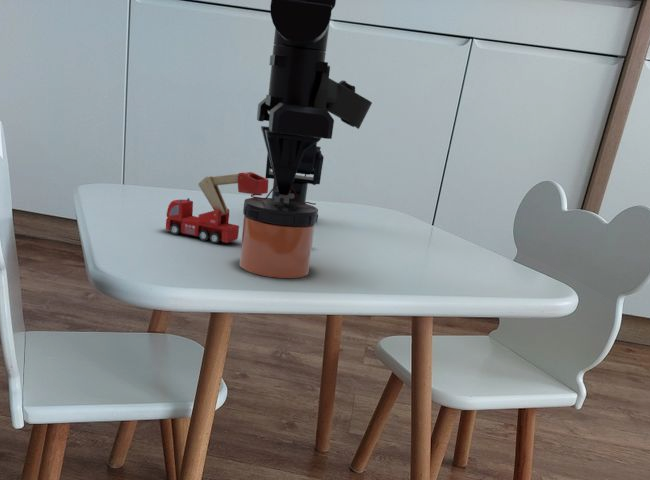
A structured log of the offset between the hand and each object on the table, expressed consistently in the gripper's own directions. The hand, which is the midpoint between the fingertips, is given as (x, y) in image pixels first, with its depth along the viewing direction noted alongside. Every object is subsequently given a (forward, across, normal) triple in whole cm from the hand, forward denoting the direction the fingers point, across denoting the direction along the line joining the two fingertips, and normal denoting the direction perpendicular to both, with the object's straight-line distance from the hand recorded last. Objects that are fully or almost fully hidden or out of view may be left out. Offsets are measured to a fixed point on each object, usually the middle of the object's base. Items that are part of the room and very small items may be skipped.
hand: (282, 193), depth 80 cm
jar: (+9, 0, 0) cm, 9 cm away
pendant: (+1, +1, 0) cm, 2 cm away
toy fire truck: (+9, +12, +7) cm, 17 cm away
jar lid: (+2, 0, 0) cm, 2 cm away
